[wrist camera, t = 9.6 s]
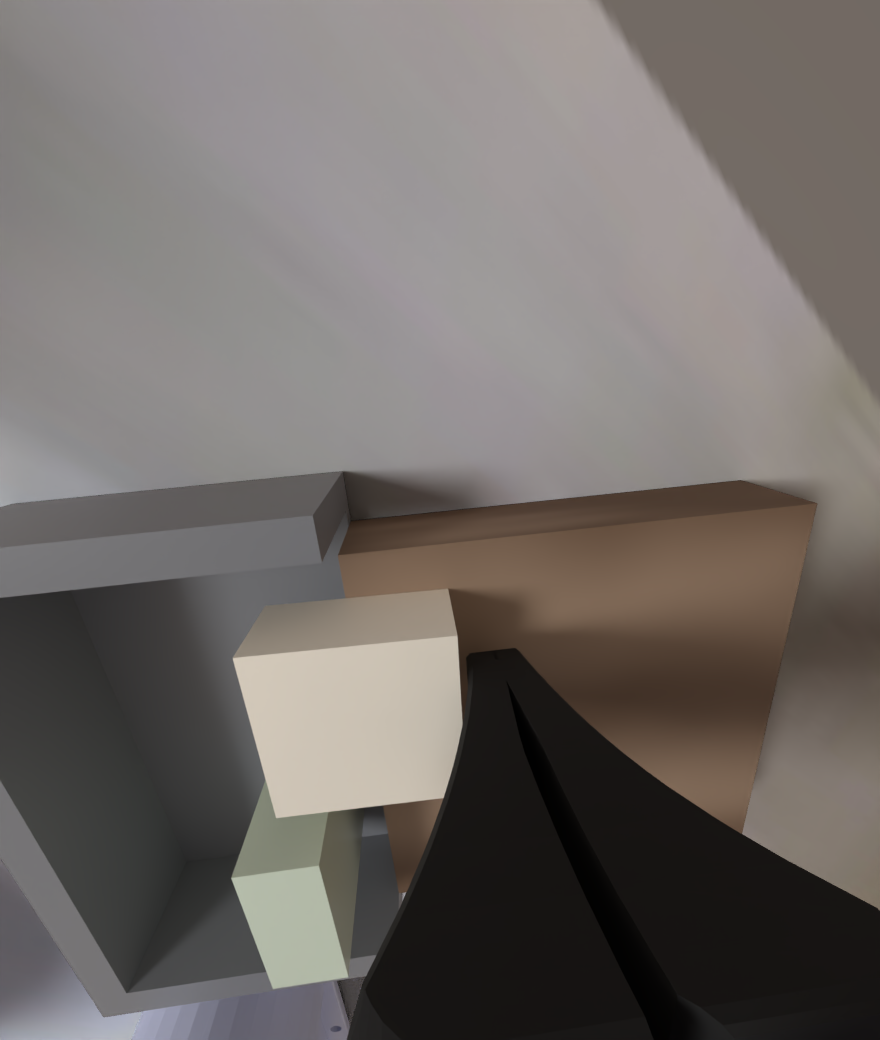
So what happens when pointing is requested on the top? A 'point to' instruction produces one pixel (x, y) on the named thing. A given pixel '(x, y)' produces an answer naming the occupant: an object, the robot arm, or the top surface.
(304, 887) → the sage tile
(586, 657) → the walnut board
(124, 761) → the box
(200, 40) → the top surface
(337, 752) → the cream tile
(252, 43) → the top surface
